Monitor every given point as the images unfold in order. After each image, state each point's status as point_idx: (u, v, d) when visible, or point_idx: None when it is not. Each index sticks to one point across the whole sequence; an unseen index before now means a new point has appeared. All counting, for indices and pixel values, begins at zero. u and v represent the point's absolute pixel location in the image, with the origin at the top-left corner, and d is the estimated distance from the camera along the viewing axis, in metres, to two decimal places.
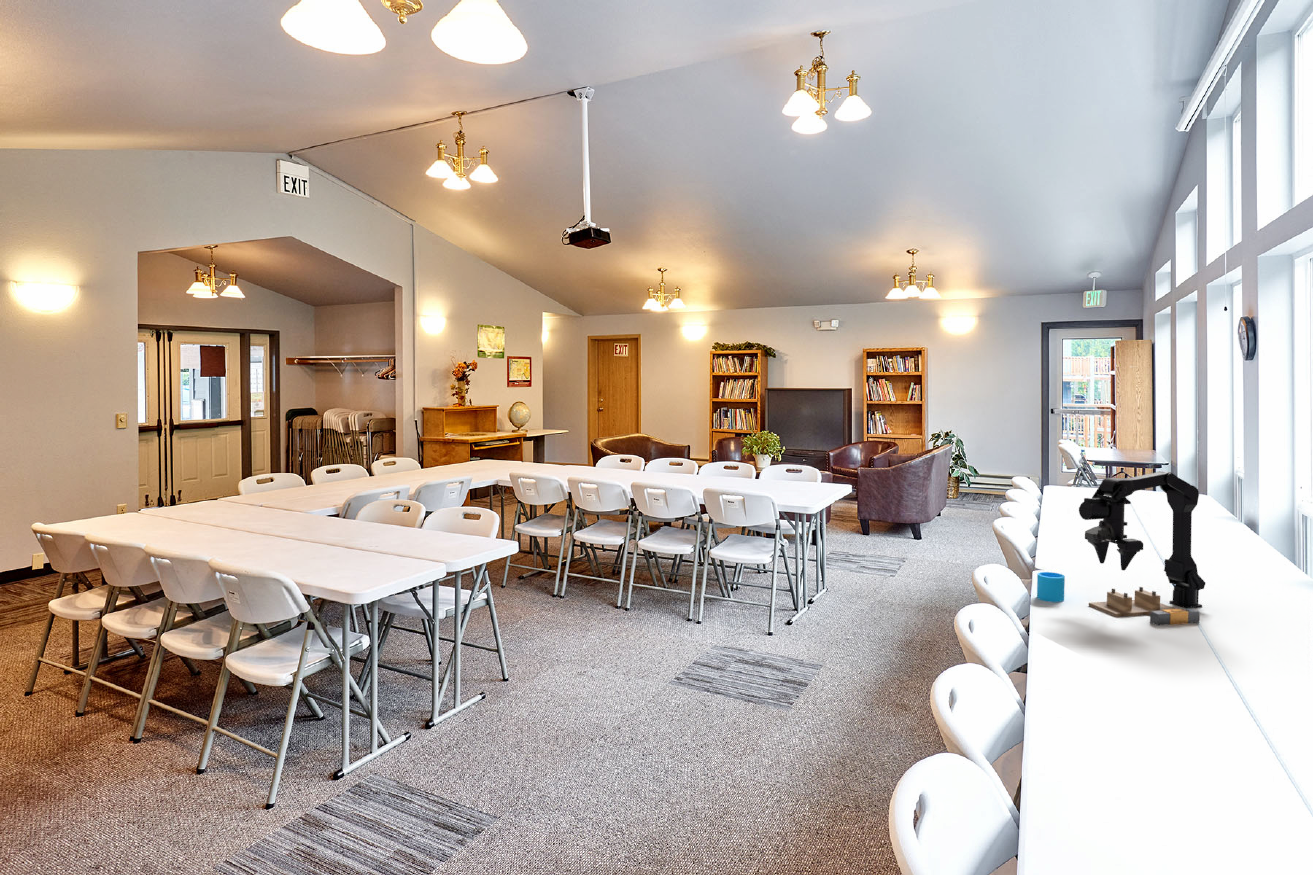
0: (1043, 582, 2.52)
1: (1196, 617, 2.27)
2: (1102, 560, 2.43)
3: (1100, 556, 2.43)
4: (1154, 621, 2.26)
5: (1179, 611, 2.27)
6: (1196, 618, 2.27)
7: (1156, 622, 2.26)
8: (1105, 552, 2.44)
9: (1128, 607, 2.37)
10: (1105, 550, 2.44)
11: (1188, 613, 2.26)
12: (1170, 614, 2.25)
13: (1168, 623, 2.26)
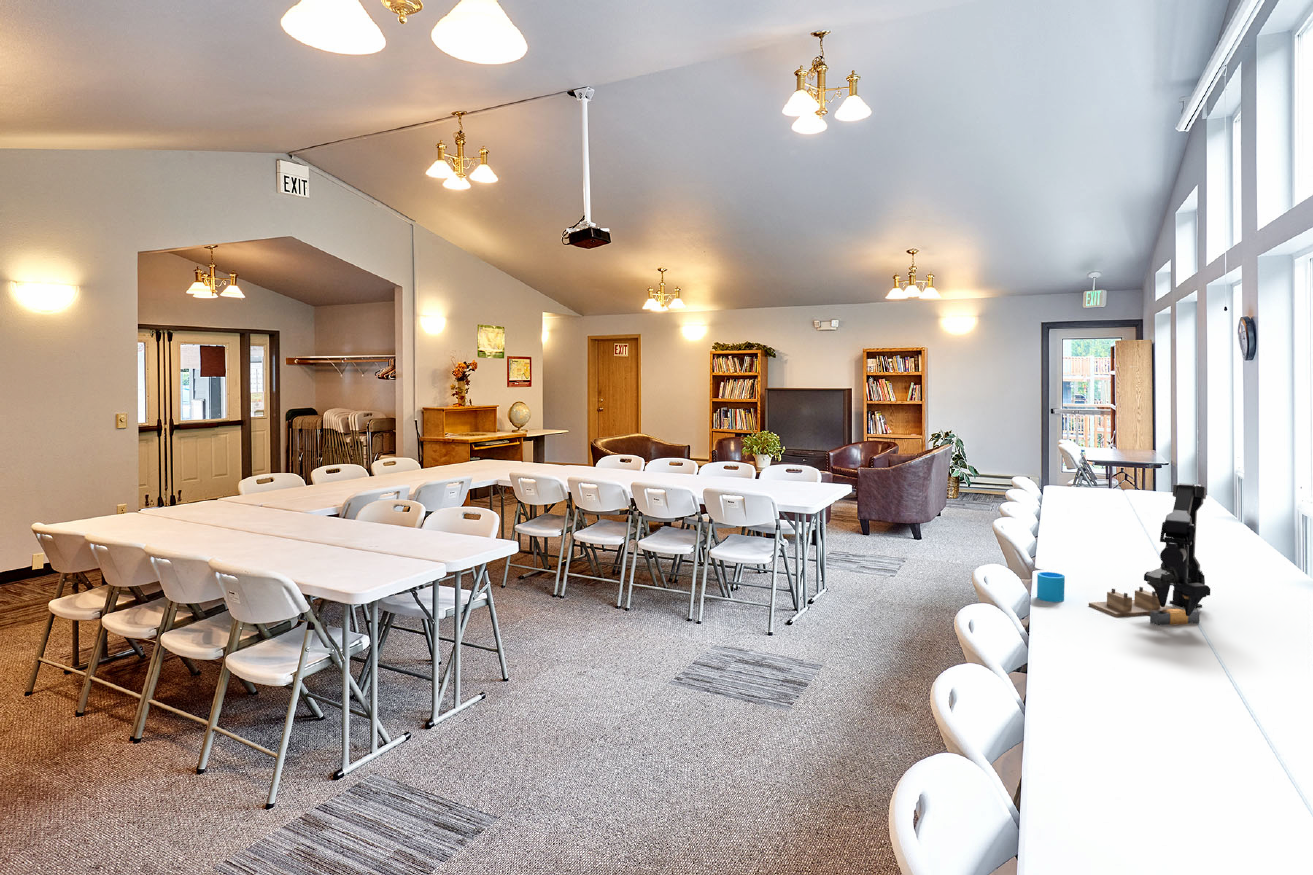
0: (1043, 582, 2.52)
1: (1196, 617, 2.27)
2: (1163, 603, 2.32)
3: (1161, 599, 2.32)
4: (1154, 621, 2.26)
5: (1179, 611, 2.27)
6: (1196, 618, 2.27)
7: (1156, 622, 2.26)
8: (1166, 595, 2.32)
9: (1128, 607, 2.37)
10: (1166, 593, 2.32)
11: None
12: (1170, 614, 2.25)
13: (1168, 623, 2.26)
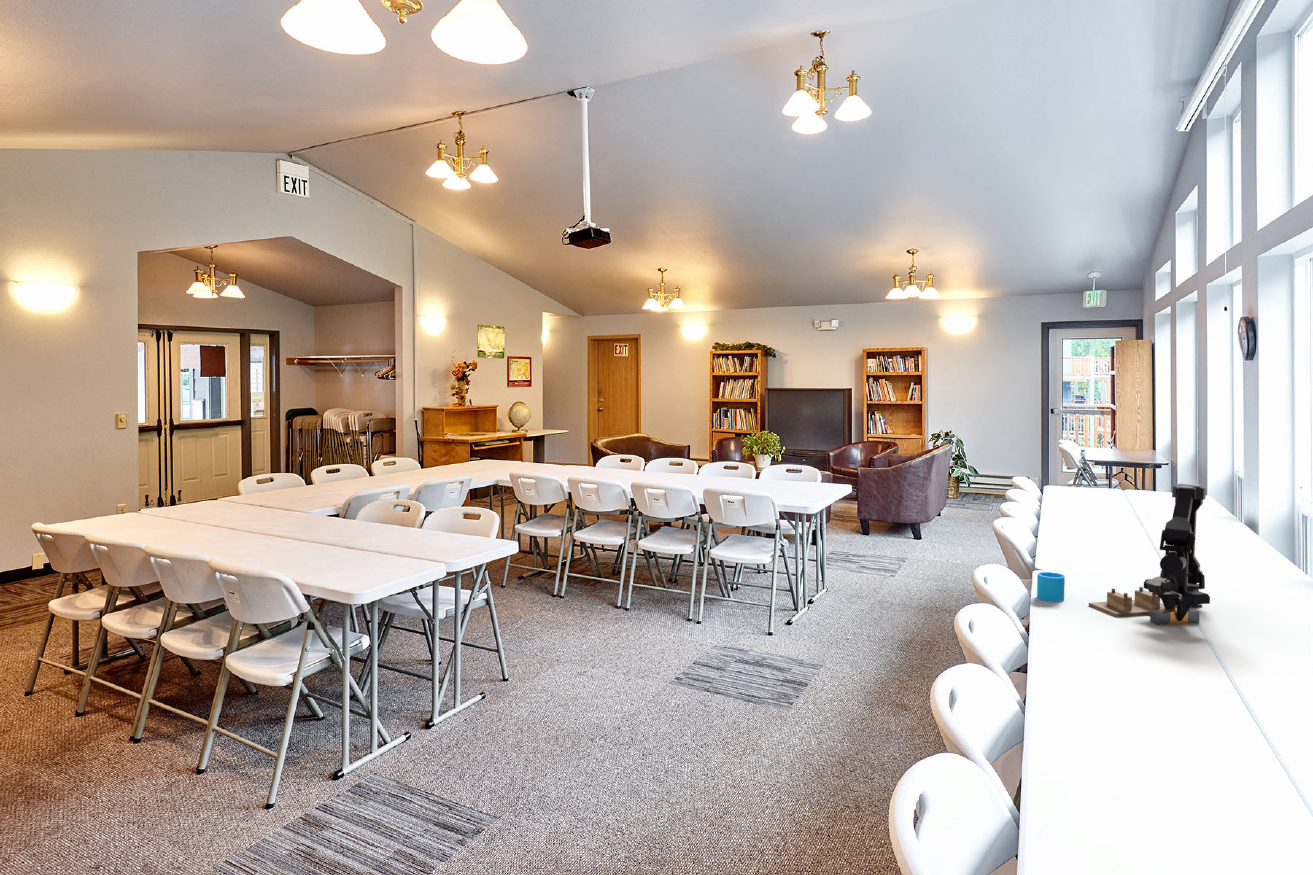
0: (1043, 582, 2.52)
1: (1196, 617, 2.27)
2: None
3: None
4: (1154, 621, 2.26)
5: None
6: (1196, 618, 2.27)
7: (1156, 622, 2.26)
8: (1173, 605, 2.29)
9: (1128, 607, 2.37)
10: (1173, 603, 2.29)
11: (1188, 613, 2.26)
12: (1170, 614, 2.25)
13: (1168, 623, 2.26)
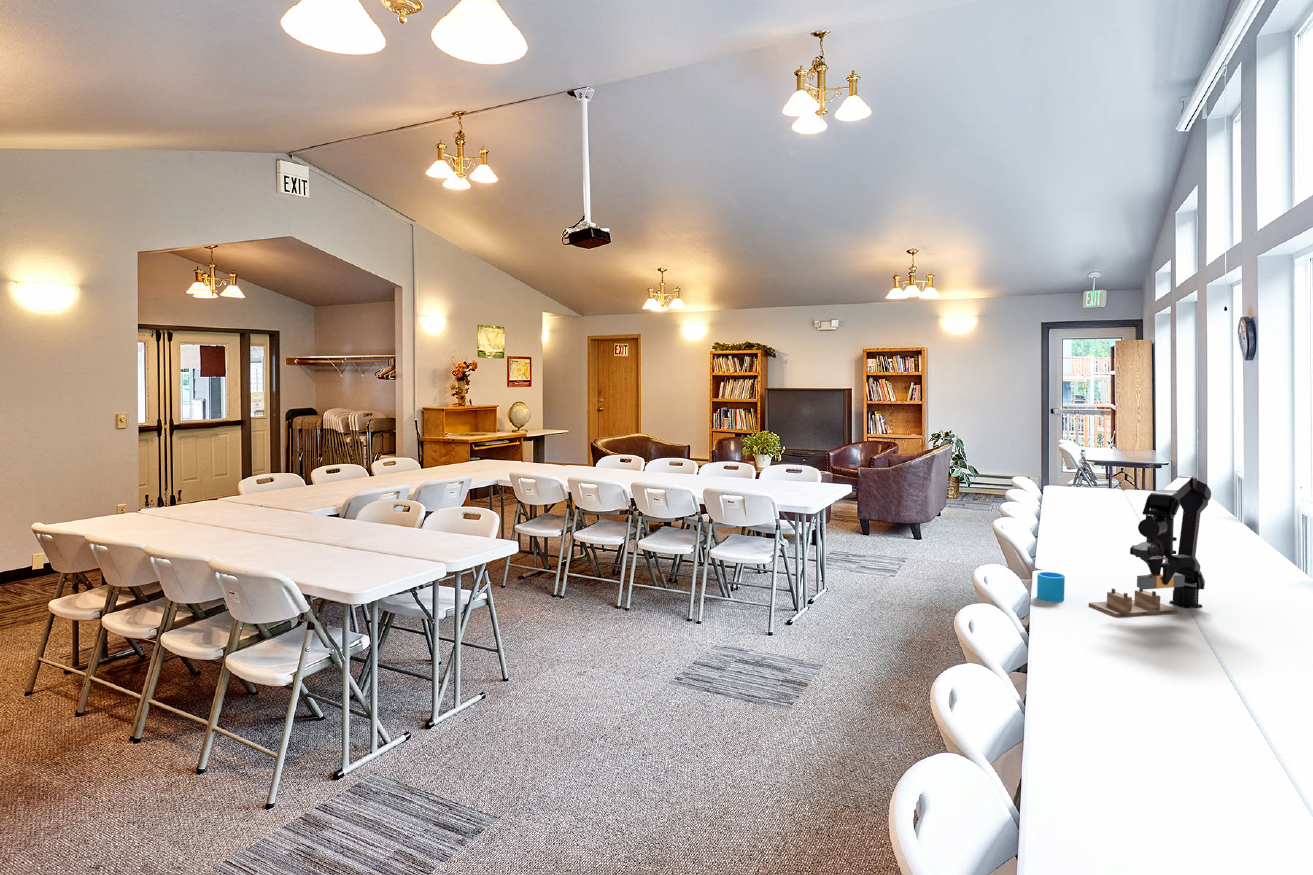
0: (1043, 582, 2.52)
1: (1181, 581, 2.31)
2: None
3: None
4: (1141, 585, 2.30)
5: None
6: (1181, 582, 2.31)
7: (1143, 586, 2.30)
8: (1159, 570, 2.33)
9: (1128, 607, 2.37)
10: (1159, 568, 2.34)
11: (1173, 577, 2.31)
12: (1156, 578, 2.29)
13: (1154, 587, 2.30)
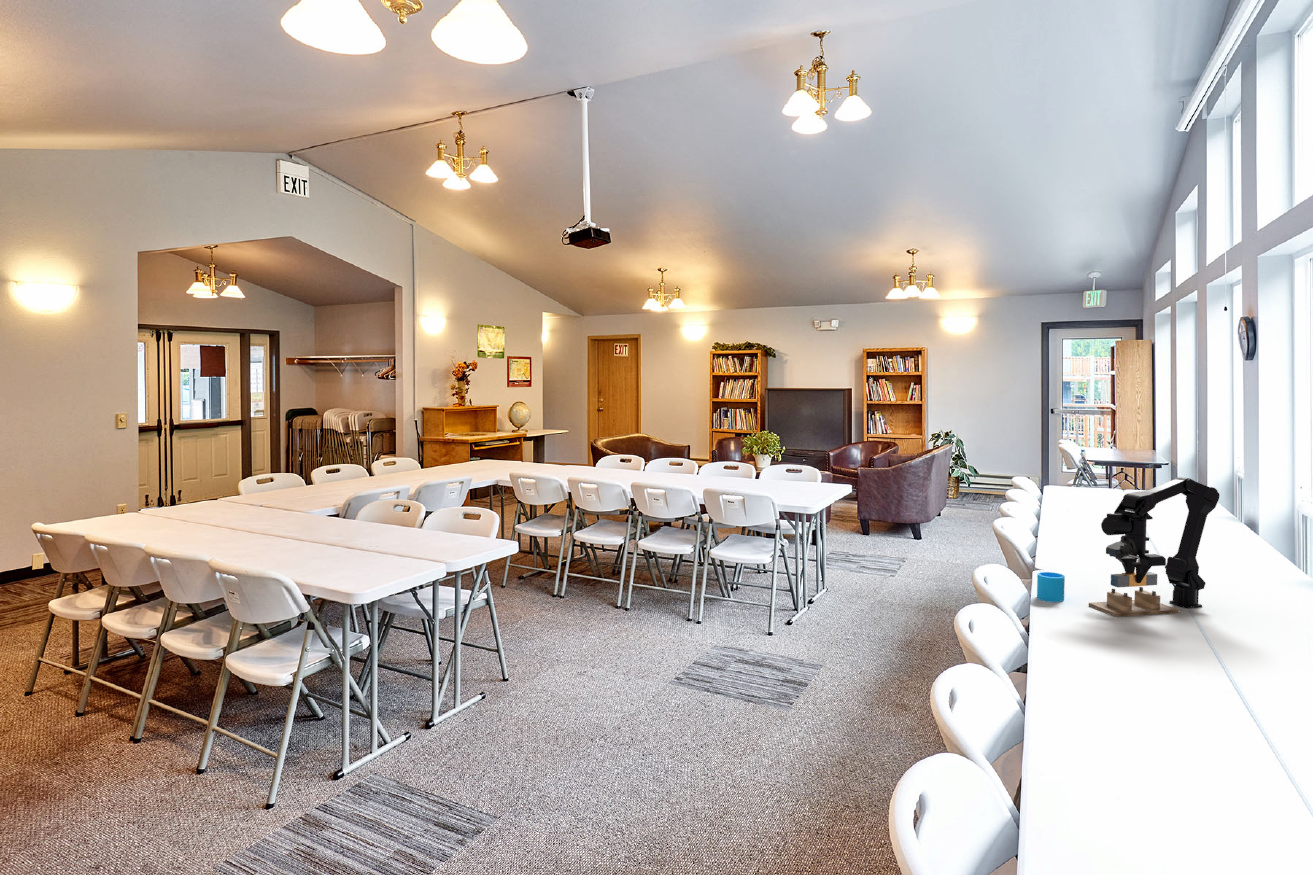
0: (1043, 582, 2.52)
1: (1154, 579, 2.40)
2: None
3: None
4: (1114, 583, 2.39)
5: None
6: (1154, 580, 2.40)
7: (1116, 584, 2.39)
8: (1133, 569, 2.42)
9: (1128, 607, 2.37)
10: (1133, 567, 2.42)
11: (1146, 576, 2.39)
12: (1129, 576, 2.38)
13: (1127, 585, 2.39)
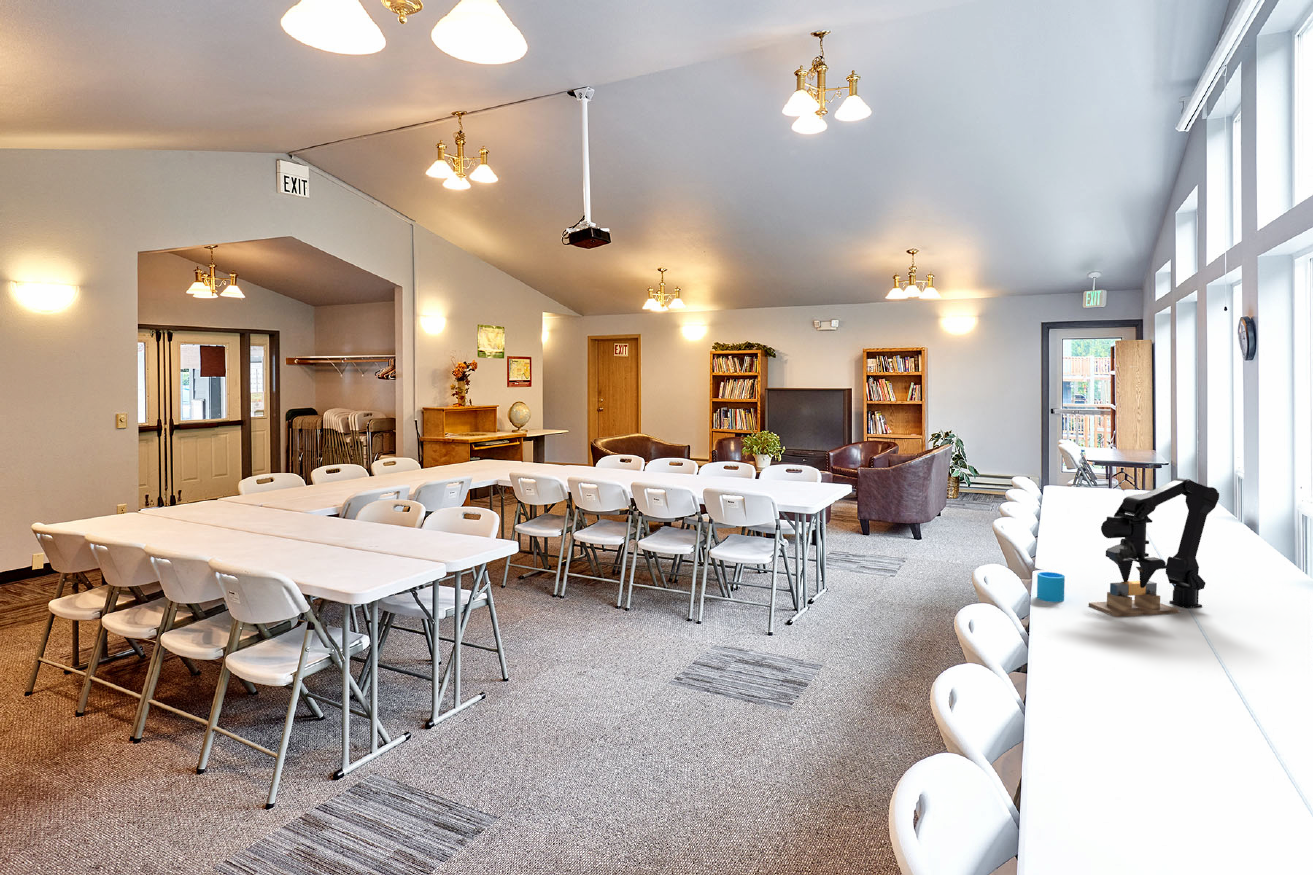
0: (1043, 582, 2.52)
1: (1153, 588, 2.40)
2: (1126, 579, 2.44)
3: (1124, 575, 2.44)
4: (1113, 592, 2.40)
5: (1137, 583, 2.40)
6: (1153, 589, 2.40)
7: (1115, 593, 2.39)
8: (1129, 571, 2.44)
9: (1128, 607, 2.37)
10: (1129, 569, 2.44)
11: (1146, 584, 2.40)
12: (1128, 585, 2.39)
13: None
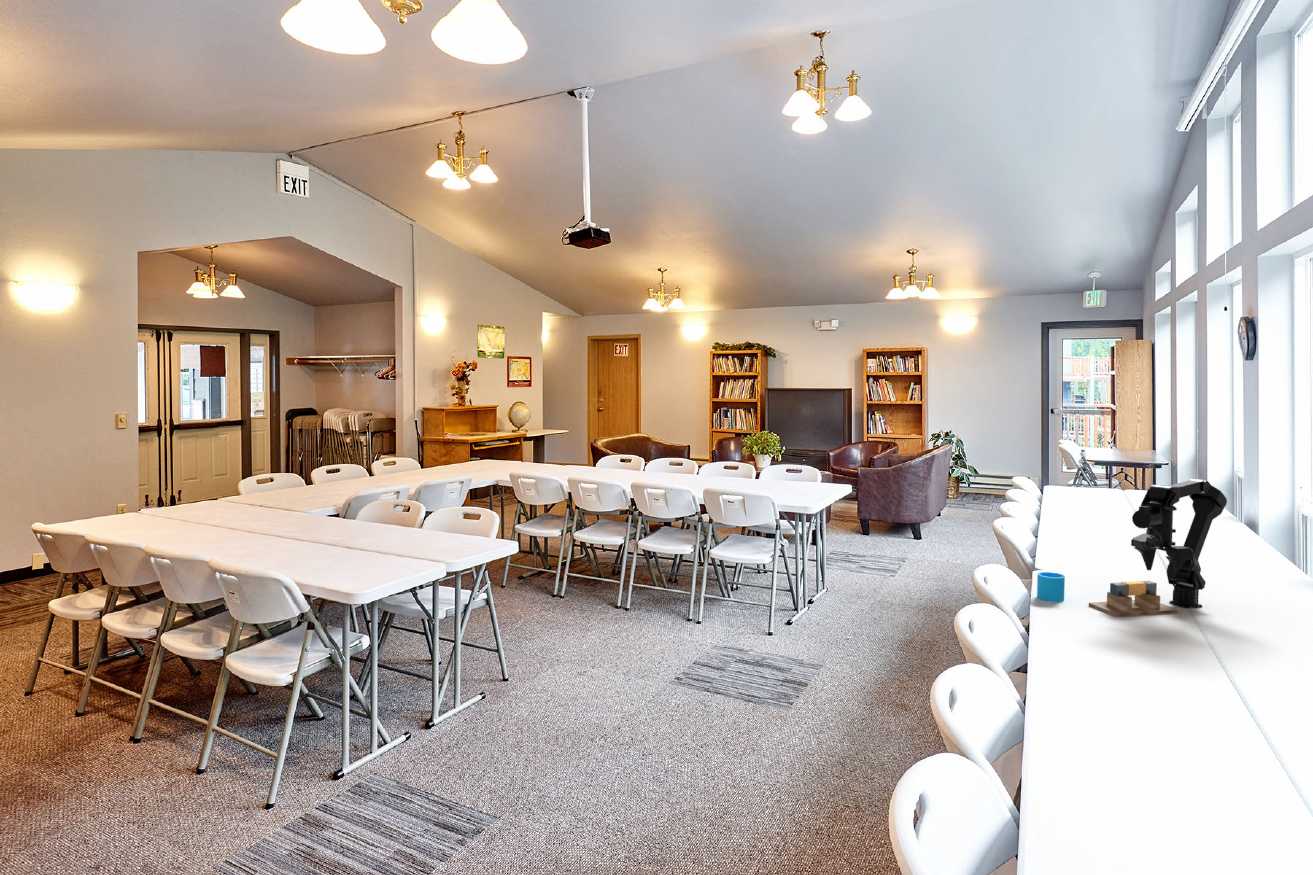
0: (1043, 582, 2.52)
1: (1153, 588, 2.40)
2: (1149, 567, 2.43)
3: (1147, 563, 2.43)
4: (1113, 592, 2.40)
5: (1137, 583, 2.40)
6: (1153, 589, 2.40)
7: (1115, 593, 2.39)
8: (1152, 559, 2.43)
9: (1128, 607, 2.37)
10: (1152, 557, 2.43)
11: (1146, 584, 2.40)
12: (1128, 585, 2.39)
13: None
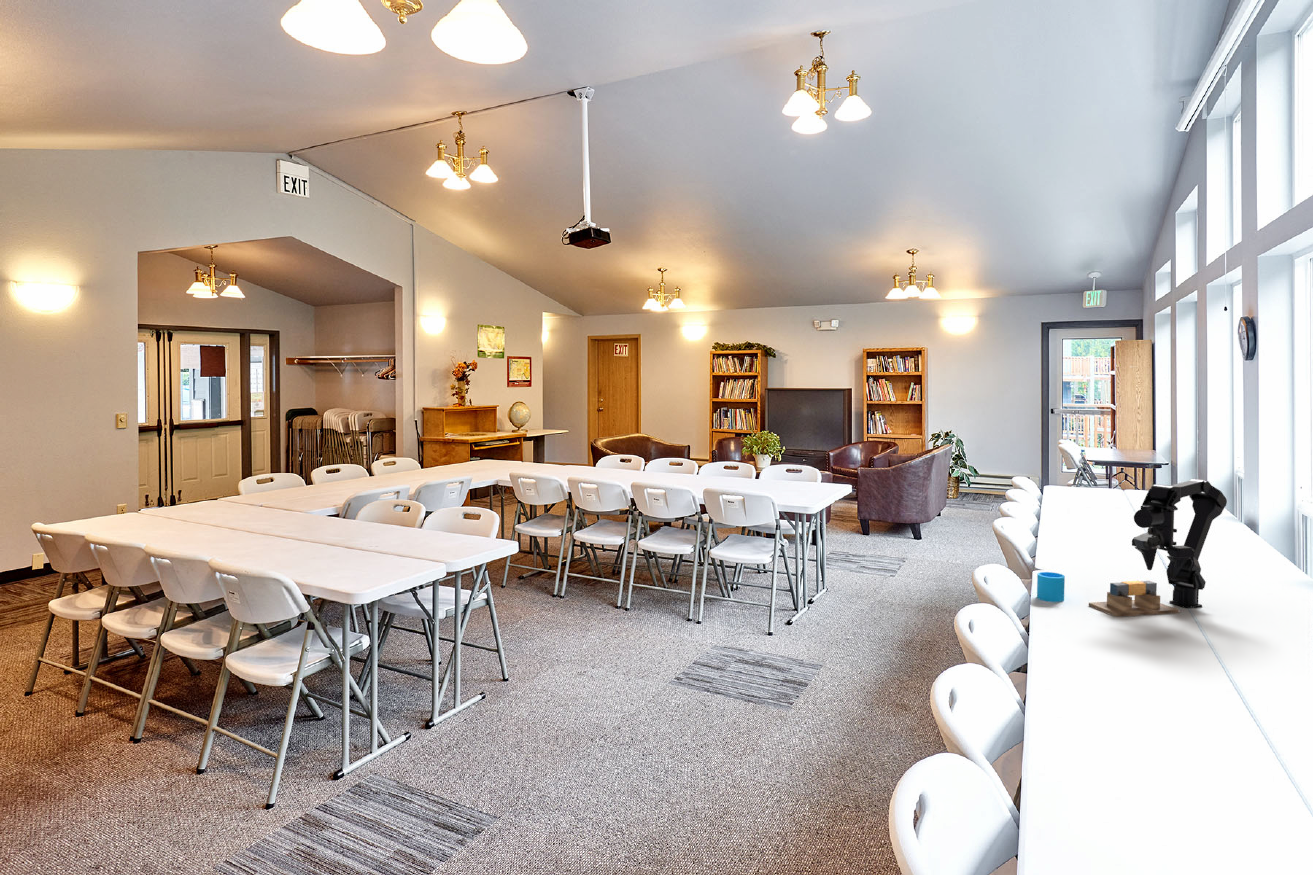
0: (1043, 582, 2.52)
1: (1153, 588, 2.40)
2: (1150, 567, 2.43)
3: (1148, 563, 2.43)
4: (1113, 592, 2.40)
5: (1137, 583, 2.40)
6: (1153, 589, 2.40)
7: (1115, 593, 2.39)
8: (1153, 559, 2.43)
9: (1128, 607, 2.37)
10: (1153, 557, 2.43)
11: (1146, 584, 2.40)
12: (1128, 585, 2.39)
13: None
